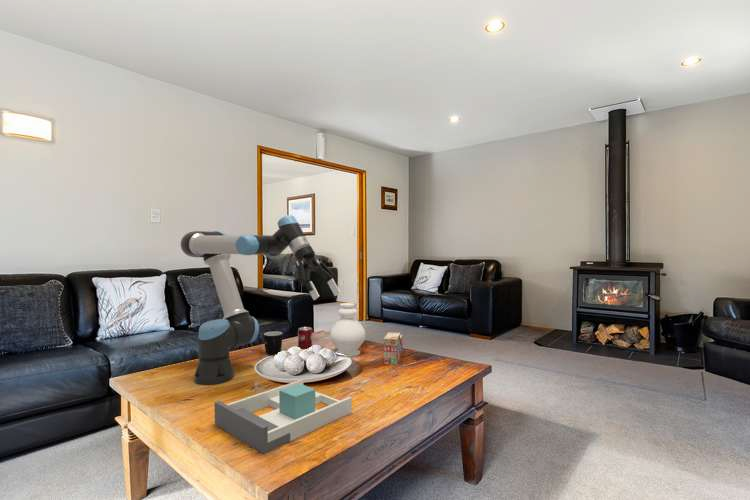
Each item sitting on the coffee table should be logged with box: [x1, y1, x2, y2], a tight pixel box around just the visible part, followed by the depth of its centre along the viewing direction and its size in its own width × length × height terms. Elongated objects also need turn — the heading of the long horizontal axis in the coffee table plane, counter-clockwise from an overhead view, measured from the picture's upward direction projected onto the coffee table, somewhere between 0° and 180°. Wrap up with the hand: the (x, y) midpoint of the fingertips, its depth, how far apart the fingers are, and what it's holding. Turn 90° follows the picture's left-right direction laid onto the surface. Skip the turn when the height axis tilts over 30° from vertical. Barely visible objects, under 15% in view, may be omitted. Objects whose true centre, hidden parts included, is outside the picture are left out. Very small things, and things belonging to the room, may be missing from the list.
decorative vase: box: [329, 302, 366, 357], centre depth 201 cm, size 18×18×25 cm
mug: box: [263, 331, 283, 356], centre depth 199 cm, size 12×9×10 cm
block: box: [279, 384, 316, 420], centre depth 127 cm, size 8×8×7 cm
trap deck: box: [214, 379, 353, 455], centre depth 127 cm, size 34×26×7 cm
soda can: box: [297, 326, 313, 349], centre depth 203 cm, size 7×7×12 cm
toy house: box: [383, 332, 404, 366], centre depth 193 cm, size 21×6×12 cm, turn 169°
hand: (327, 296), depth 151 cm, fingers open, 13 cm apart
